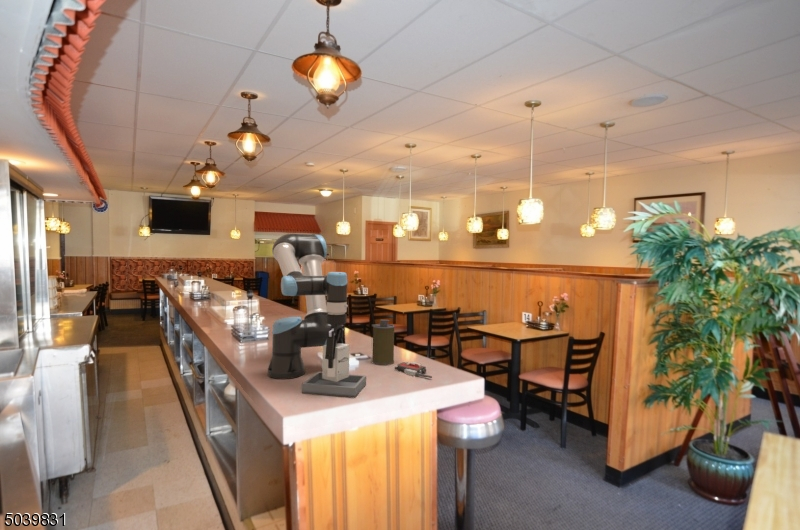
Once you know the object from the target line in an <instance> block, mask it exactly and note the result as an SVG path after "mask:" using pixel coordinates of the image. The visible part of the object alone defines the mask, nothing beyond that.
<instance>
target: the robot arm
mask: <svg viewBox="0 0 800 530" xmlns="http://www.w3.org/2000/svg"><path fill="white" fill-rule="evenodd" d="M271 249H272V250H271V251H272V256H273V258H274V259H275V260H276V261H277V262H278V265H279V268H280V270H281V273H282V277H281V282H280V290H281V294H282V295H283V296H287V297H289V296H290V297H295V296H298V297H299V296H305V304H306V314H305V315H304V317H303V319H302V317H301V316H288V317H283V318H279V319H277V320H274V322H273V324H272V332H271V334H272V346H271V347H272V351H271V352H272V353H271V354H272V355H271V358H270V361H269V365H268V368H267V376H268V377H269V378H271V379H272V378H273V379H277V380H280V379H281V380H286V379H287V380H288V379H295V378H298V377H301V376H303V375H305V374H306V366H305V363H304V361H303V357H302V348H316V347H322V348H323V346H324V345H326V355H325V359H328V371H327V377H335V359H334V358H335V348H336V345H337V343H343V344H346V324H347V322H348V321H347V316H348V315H347V308H348V306H349V305H348V304H347V303H348V302H347V301H348V274H347V273H346V272H344V271H329V272H327V274H324V275H323V268H322V264H323V262H324V261H325V259H326V258H327V255H328V251H327V249H328V247H327V243H326V240H325V238H324V236H322V235H321V234H314V233H312V234H309V233H287V234H284V235H282V236H280V237H278V238H277V239H275V241H274V243H273V245H272V248H271ZM300 265H301V266H302V268H301V266H300Z"/></svg>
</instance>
